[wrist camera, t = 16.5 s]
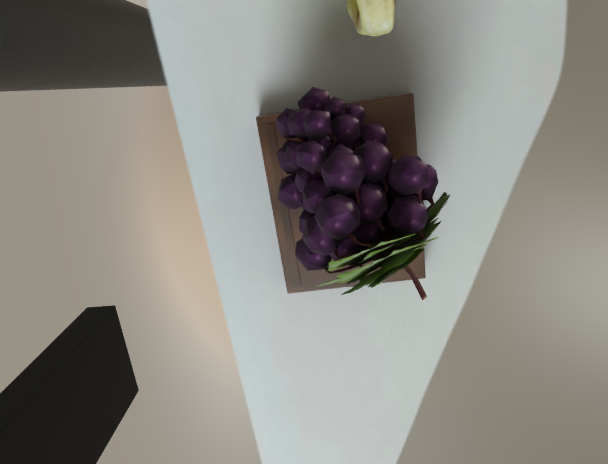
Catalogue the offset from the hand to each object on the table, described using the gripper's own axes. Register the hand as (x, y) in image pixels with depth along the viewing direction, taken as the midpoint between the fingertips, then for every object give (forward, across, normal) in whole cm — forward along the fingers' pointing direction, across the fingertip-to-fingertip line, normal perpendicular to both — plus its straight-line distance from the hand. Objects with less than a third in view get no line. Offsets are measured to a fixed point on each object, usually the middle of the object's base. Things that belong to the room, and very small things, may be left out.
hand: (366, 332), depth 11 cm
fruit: (+19, -3, +5) cm, 20 cm away
